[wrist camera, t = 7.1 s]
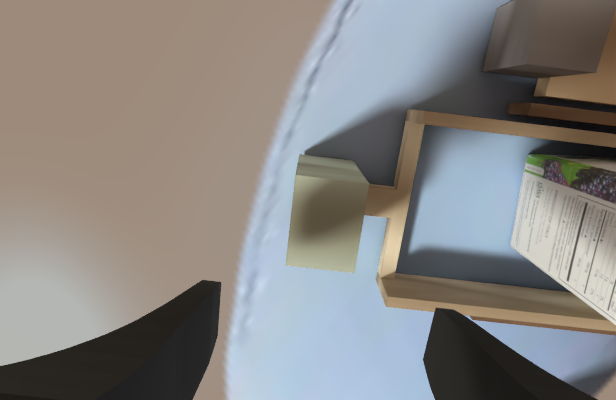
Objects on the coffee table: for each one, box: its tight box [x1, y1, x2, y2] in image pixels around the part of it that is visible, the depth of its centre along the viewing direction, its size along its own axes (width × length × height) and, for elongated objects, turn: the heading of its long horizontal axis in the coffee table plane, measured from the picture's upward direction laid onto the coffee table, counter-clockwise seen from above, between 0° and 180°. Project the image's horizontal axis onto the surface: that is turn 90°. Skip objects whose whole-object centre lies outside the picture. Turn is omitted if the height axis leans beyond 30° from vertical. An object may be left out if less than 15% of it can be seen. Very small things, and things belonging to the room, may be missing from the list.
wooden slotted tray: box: [286, 109, 616, 332], centre depth 18 cm, size 10×20×6 cm, turn 83°
